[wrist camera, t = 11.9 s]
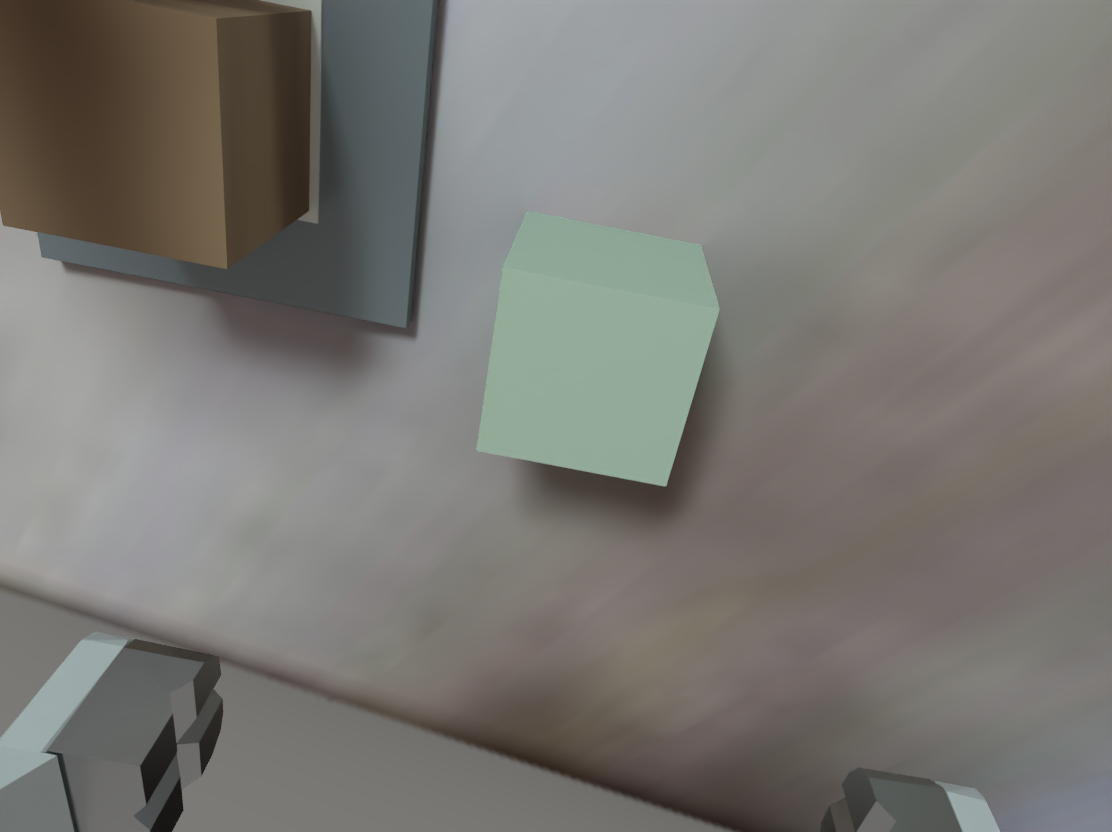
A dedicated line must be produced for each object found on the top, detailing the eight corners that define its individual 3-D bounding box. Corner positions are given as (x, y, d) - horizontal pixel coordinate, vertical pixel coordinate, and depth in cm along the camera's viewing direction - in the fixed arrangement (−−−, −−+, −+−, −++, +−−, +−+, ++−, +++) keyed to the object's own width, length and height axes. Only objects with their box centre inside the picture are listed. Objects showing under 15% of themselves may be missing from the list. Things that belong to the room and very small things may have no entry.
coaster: (447, -108, 18) (440, -111, 17) (410, 320, 23) (404, 329, 23) (-18, -202, 18) (-42, -209, 17) (54, 251, 23) (39, 258, 23)
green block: (700, 243, 22) (719, 309, 17) (658, 396, 24) (665, 486, 20) (527, 209, 22) (502, 267, 17) (502, 366, 24) (476, 450, 20)
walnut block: (311, 10, 19) (216, 18, 14) (309, 210, 21) (227, 269, 17) (109, -31, 19) (-48, -35, 14) (131, 175, 21) (3, 225, 17)
